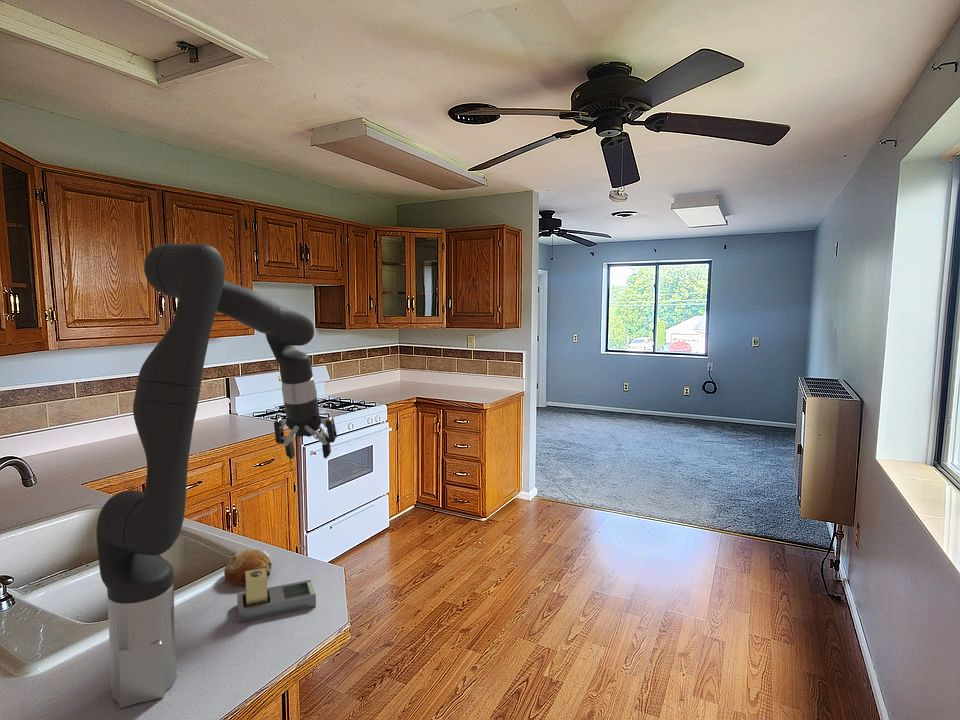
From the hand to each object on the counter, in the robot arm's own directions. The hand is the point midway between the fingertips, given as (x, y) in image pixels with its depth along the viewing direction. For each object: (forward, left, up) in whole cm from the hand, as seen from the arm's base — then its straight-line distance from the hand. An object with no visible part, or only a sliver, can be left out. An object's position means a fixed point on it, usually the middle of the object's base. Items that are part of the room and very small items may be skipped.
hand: (309, 456), depth 133 cm
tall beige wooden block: (-19, +14, -26) cm, 35 cm away
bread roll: (-4, +14, -27) cm, 30 cm away
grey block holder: (-19, +10, -26) cm, 34 cm away
